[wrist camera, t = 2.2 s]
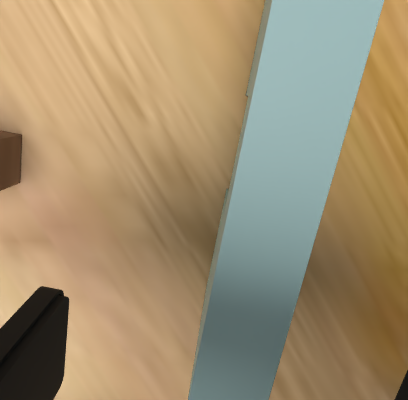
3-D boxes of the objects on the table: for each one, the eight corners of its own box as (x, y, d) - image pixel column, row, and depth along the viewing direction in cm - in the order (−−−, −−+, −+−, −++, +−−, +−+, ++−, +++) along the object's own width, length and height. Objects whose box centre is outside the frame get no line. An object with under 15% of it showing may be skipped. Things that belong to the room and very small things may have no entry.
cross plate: (274, -47, 15) (311, -188, 8) (334, -36, 15) (432, -169, 8) (206, 289, 20) (185, 412, 12) (251, 299, 20) (260, 428, 12)
